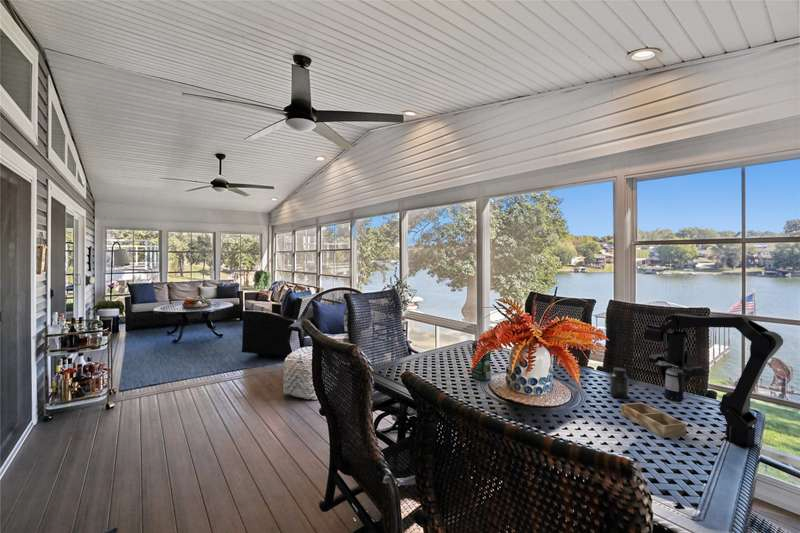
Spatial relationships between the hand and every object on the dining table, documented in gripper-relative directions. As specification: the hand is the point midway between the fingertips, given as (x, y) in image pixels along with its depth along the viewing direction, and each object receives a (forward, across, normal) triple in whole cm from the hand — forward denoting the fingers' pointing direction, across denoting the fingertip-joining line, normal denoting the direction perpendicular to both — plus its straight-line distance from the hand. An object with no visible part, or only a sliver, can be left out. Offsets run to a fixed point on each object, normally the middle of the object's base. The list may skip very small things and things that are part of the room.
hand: (674, 386), depth 140 cm
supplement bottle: (+13, +23, +3) cm, 26 cm away
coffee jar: (+13, +56, +54) cm, 78 cm away
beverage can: (+6, 0, 0) cm, 6 cm away
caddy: (+12, -2, +12) cm, 17 cm away
